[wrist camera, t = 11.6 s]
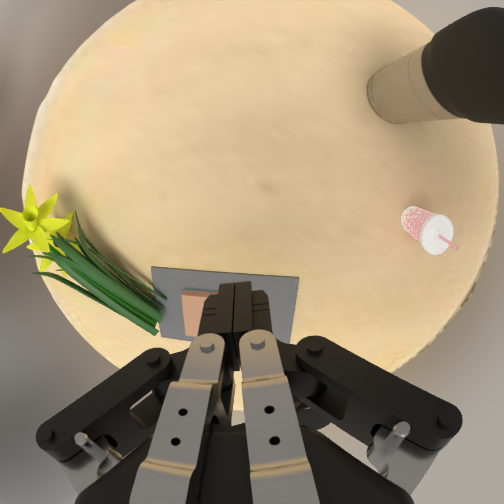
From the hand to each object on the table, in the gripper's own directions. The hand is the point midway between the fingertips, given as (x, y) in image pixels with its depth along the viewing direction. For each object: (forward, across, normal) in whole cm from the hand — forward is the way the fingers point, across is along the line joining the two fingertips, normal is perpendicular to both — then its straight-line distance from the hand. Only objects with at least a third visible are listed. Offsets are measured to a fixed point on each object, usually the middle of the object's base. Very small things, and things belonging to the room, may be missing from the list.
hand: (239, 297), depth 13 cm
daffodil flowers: (+32, -27, -10) cm, 43 cm away
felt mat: (+29, -7, -23) cm, 38 cm away
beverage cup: (+28, +28, -8) cm, 40 cm away
